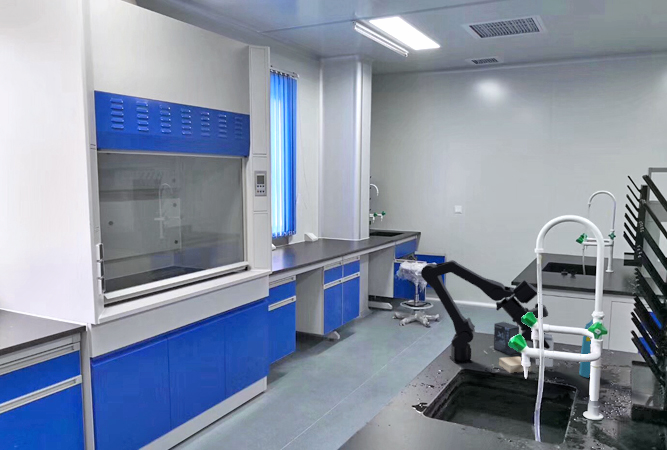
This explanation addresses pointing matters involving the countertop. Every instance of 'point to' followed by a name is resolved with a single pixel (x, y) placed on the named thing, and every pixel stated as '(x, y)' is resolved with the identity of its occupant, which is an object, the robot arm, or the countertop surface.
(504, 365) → the block
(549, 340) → the carton
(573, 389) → the countertop surface
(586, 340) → the blue plastic bottle
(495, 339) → the box
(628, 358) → the countertop surface
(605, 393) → the countertop surface
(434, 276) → the robot arm
